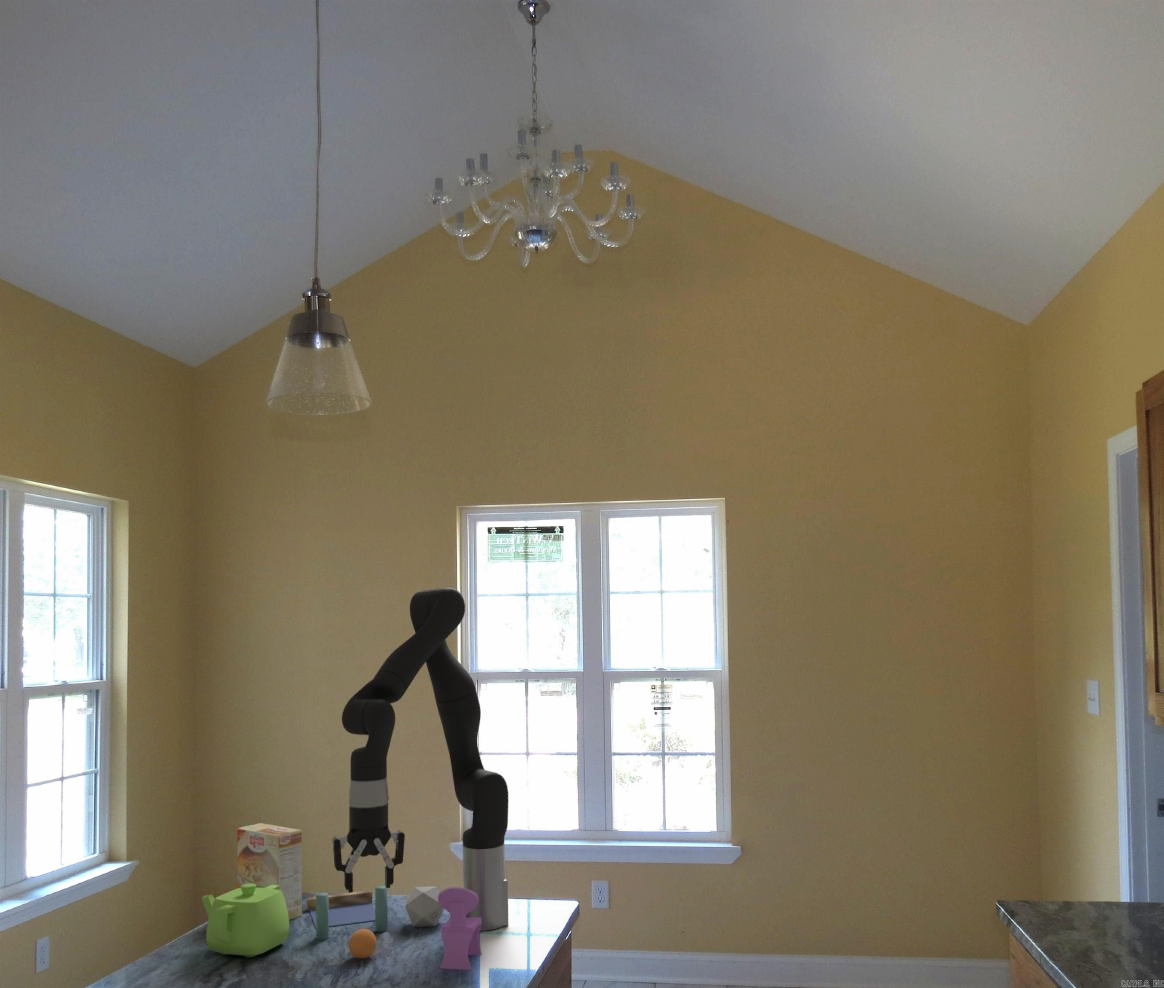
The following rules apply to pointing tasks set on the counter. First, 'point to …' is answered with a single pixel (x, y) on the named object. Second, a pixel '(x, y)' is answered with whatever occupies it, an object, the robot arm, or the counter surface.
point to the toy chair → (459, 928)
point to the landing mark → (348, 914)
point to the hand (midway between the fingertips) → (368, 889)
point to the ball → (362, 943)
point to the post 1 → (322, 916)
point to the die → (424, 906)
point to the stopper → (343, 899)
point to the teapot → (246, 920)
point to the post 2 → (381, 909)
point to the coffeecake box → (272, 861)
